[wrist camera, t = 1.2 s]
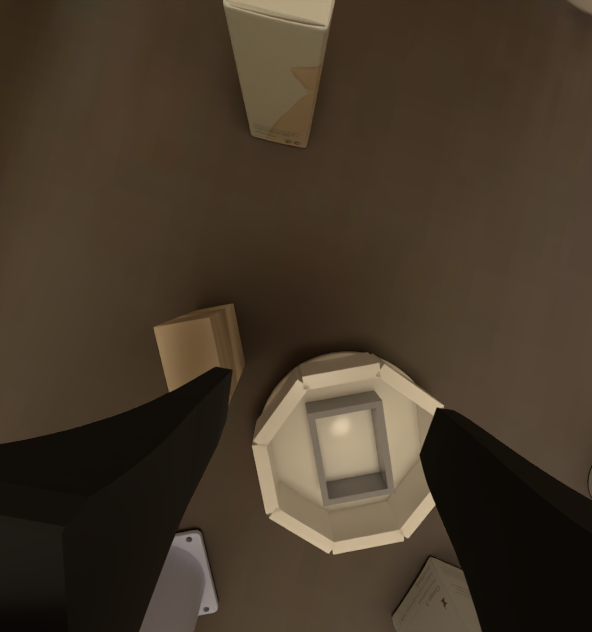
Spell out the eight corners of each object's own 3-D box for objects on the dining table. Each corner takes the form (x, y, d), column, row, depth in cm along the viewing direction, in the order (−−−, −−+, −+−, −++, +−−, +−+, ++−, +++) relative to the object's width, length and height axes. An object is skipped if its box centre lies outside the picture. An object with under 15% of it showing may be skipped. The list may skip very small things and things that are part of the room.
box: (306, 150, 23) (327, 38, 12) (249, 136, 23) (217, 9, 12) (321, 75, 22) (358, -116, 11) (262, 60, 22) (242, -150, 11)
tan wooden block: (208, 370, 25) (174, 415, 17) (195, 310, 24) (153, 327, 16) (245, 364, 25) (228, 405, 17) (233, 303, 24) (209, 317, 16)
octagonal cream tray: (275, 525, 27) (274, 568, 23) (243, 368, 25) (236, 385, 21) (436, 494, 27) (462, 532, 23) (417, 336, 25) (442, 348, 21)
